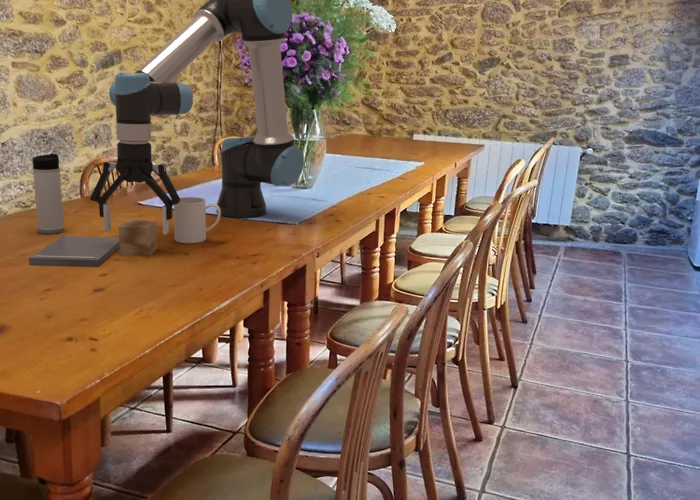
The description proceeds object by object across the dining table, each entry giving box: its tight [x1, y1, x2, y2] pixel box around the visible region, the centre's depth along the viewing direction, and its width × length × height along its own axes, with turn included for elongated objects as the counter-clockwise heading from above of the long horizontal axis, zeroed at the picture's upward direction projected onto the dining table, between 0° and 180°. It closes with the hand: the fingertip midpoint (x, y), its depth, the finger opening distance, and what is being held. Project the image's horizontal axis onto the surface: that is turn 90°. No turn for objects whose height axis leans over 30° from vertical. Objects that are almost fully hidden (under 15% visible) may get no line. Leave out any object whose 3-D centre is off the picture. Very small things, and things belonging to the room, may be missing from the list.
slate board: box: [28, 235, 120, 267], centre depth 160 cm, size 15×20×2 cm
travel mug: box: [32, 153, 65, 235], centre depth 177 cm, size 6×7×20 cm
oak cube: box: [118, 219, 158, 257], centre depth 163 cm, size 7×7×7 cm
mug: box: [173, 196, 222, 244], centre depth 175 cm, size 12×8×10 cm, turn 79°
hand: (136, 231), depth 162 cm, fingers open, 13 cm apart
